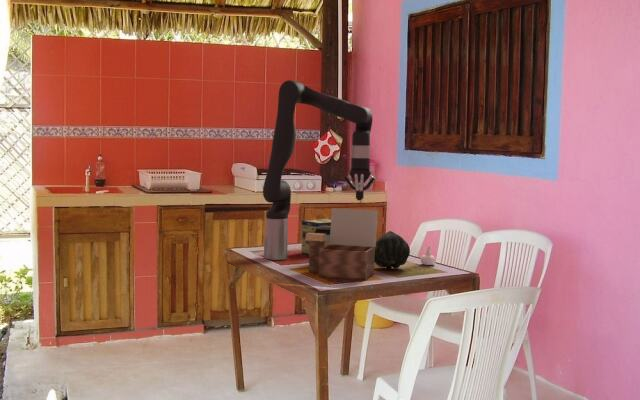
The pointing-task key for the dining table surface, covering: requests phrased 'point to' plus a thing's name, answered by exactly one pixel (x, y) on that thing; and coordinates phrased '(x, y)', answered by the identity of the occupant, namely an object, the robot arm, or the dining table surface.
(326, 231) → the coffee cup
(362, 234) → the lid
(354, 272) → the box
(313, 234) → the latch bolt
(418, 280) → the dining table surface
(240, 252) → the dining table surface
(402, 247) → the squash
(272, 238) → the robot arm
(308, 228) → the protein box
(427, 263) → the garlic bulb
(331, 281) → the dining table surface
